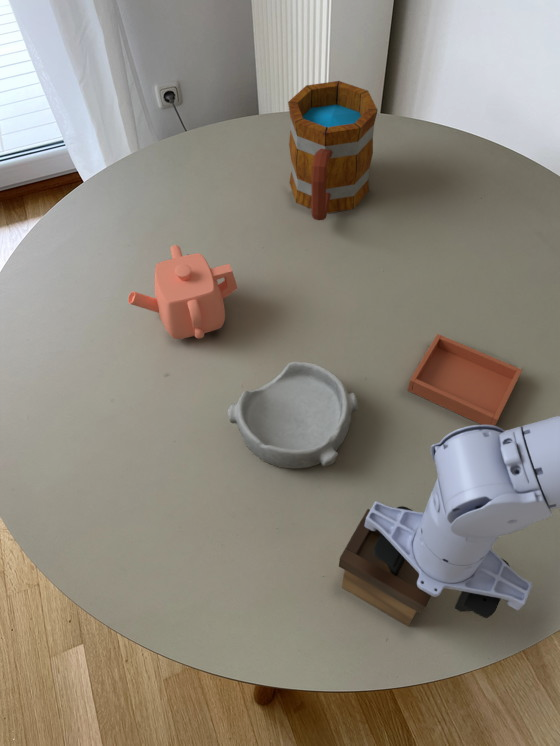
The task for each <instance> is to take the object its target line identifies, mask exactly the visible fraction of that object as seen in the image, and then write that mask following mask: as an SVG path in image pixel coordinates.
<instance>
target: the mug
mask: <svg viewBox="0 0 560 746" xmlns="http://www.w3.org/2000/svg"><path fill="white" fill-rule="evenodd" d="M287 104H288V111H289V120H290V121H289V123H290V125H289V126H290V127H289V129H290V131H289V142H288V146H289V147H288V148H289V154H290V155H289V156H290V175H289V176H290V177H289V185H290V189H291V191H292V195H293V198H294V201H295V203H296V204H298V205H301V206H303V207H305V208H308V209H310V210H311V212H310V213H311V218H313V220H316V221H324V220H325V219H326V218H327V216H328V214H331V213H336V212H337V213H338V212H342V211H350V210H354V209H355V208H356V207H357V206H358V205H359V204H360V202H361V201H362V200H363V199H364V198H365V197H366V196H367V194H368V193H369V192H370V182H369V180H370V178H369V177H370V170H371V164H372V159H373V154H374V131H375V130H374V129H375V122H376V118H377V114H378V108H377V105H376V104H375V101H374V99H373V98H372V95H371V94H370V91H369V90H367V89H364V88H362V87H358V86H356V85H352V84H349V83H346V82H344V81H341V80H336V81H328V82H321V83H314V84H307V85H305V86H304V87H303V88H302V89H300V90H299V92H298V93H296V94H295V95H294V96H293V97H292V98H290V100H289V101H287Z"/></svg>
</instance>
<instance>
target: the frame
mask: <svg viewBox="0 0 560 746" xmlns="http://www.w3.org/2000/svg"><path fill="white" fill-rule="evenodd" d="M370 510H371V508H370V509H369V508H367V509H366V511H365V513H364V514H363V516H362V518H361V519H360V522H359V523H358V524H357V526H356V529H355V530H354V532H353V534H352V536H351V537H350V539H349V541H348V543H347V545H345V548H344V550H343V551H342V553H341V555H340V557H339V561H338V567H339V568H341V569H342V570H344V571H345V570H346V571H348V572H349V573H351V574H353V575H354V576H356V577H358V578H360V579H361V580H363V581H365V582H367V583H368V584H370V585H372V586H374V587H375V588H377V589H379V590H380V591H382V592H384V593H386V594H387V595H389V596H391V597H393V598H394V599H396V600H398V601H400V602H401V603H403V604H405V605H406V606H408V607H410V608H412V609H413V610H415V611H417V612H416V613H418V614H420V615H422V614H423V613H424V611H425V609H426V607H427V605H428V604H429V602H430V599H431V597H432V595H430V594H428V593H426V592H424V591H423V590H421V589H420V588H419V589H417V588H415V587H413V586H411V585H410V584H408V583H406V582H404V581H403V580H401V579H399V578H397V577H396V576H394V575H392V574H390V573H388V572H387V571H385V570H383V569H381V568H380V567H378V566H376V565H374V564H373V563H371V562H369V561H367V560H365V559H364V558H362V557H360V556H358V555H359V553H360V552H361V550H362V548H363V546H364V544H365V543H366V541H367V539H368V537H369V535H370V534H371V533H373V534H375V535H377V536H380V534H381V532H380V531H378V530H377V529H376V531H371V530H370V529H368V528H366V527H365V526H364V525H365V520H366V517H367V515H368V513H369V512H370Z"/></svg>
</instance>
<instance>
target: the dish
mask: <svg viewBox="0 0 560 746" xmlns="http://www.w3.org/2000/svg"><path fill="white" fill-rule="evenodd" d="M357 410H358V400H357V396H356V394H355V393H354V392H350V393H349V392H348V391H347V389H346V387H345V385H344V384H343V382H342V381H341V379H339V378H338V376H336V374H334V373H333V372H331V371H330V370H328V369H327V368H325V367H323V366H321V365H318V364H315V363H311V362H305V361H303V362H302V361H290V362H289V363H288V364H287V365H285V367H284V368H283V370H282V371H281V372H280V373H279V374H278V375H276V376H275V378H273V379H272V380H271V381H268V383H266V384H264V385H262V386H260V387H259V388H256V389H252V390H244V391H242V393H241V395H240V396H239V398H238V401H237V402H236V403H231V404H230V405H229V407H228V408H227V418H228V420H229V423H231V424H236V425H237V427H238V430H239V433H240V435H241V437H242V440H243V442H244V443H245V445H246V446H247V448H248V449H249V450H250V451H251V452H252V454H254V455H255V456H256V457H257V458H258V459H260V460H262V462H265V463H267V464H270V465H272V466H275V467H279V468H282V469H283V468H285V469H305V468H311V467H314V466H318V465H319V464H321V465H322V466H323V467H327V466H330V465H333V464H334V463H335V462H336V459H337V457H338V455H339V453H338V451H337V450H338V449H339V448H340V446H342V444H343V442H344V440H345V439H346V436H347V434H348V431H349V429H350V425H351V419H352V413H353V412H356V411H357Z"/></svg>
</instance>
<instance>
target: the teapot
mask: <svg viewBox="0 0 560 746" xmlns="http://www.w3.org/2000/svg"><path fill="white" fill-rule="evenodd" d="M170 253H171V258H169V259H166V260H163V261H159V262H157V263H156V265H155V269H154V295H155V296H154V297H153V296H149V295H146V294H143V293H140V292H137V291H130V293H129V295H128V297H127V303H128V304H129V305H132V306H135V307H138V308H141V309H145V310H148V311H150V312H151V311H152V312H154V313H158V316H159V318H160V320H161V322H162V323H161V324H162V325H163V327H164V328H165V330H166V332H167V333H168V335H169V336H170V337H171V338H173V339H174V340H181V339H186V338H191V337H195V338H196V339H202V338H204V337H205V334H206V333H207V334H208V333H210V332H214V331H217V330H219V329H221V328H222V327H223V325H224V323H225V320H226V310H225V309H226V308H225V303H224V299H226V298H227V297H228V296H229V295H231V294H232V293H234V292H236V290H238V289H239V288H238V284H237V282H236V278H235V274H234V271H233V269H232V267H231V264H230V263H227V264H223V265H220V266H215V267H210V265H209V263H208V261H207V259H206V258H205V255H203V254H202V253H200V252H198V253H191V254H186V255H183V253H182V249H181V247H180V246H179V245H178V244H173V245H172V246H171V247H170ZM223 278H224V280H223V281H222V282H219V283H218V280H220V279H223Z"/></svg>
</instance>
